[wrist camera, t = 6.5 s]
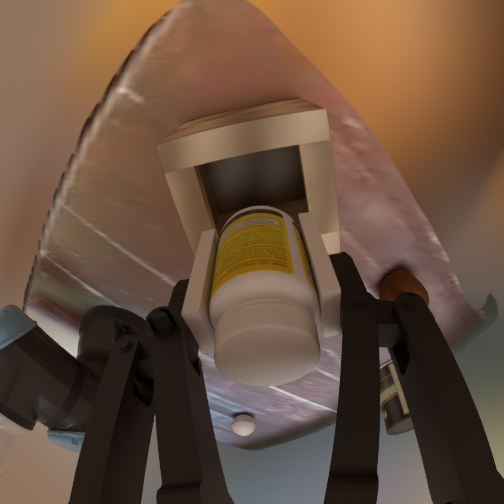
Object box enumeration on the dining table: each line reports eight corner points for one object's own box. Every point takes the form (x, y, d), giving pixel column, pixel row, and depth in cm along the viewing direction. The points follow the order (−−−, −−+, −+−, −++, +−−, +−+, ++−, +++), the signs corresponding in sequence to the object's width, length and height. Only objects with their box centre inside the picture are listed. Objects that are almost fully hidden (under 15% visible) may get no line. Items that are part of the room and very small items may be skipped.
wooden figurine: (387, 302, 43) (421, 379, 30) (366, 287, 41) (400, 370, 28) (418, 274, 40) (462, 348, 27) (399, 256, 38) (447, 335, 25)
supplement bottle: (204, 246, 17) (179, 364, 10) (253, 187, 15) (255, 294, 8) (266, 284, 19) (273, 401, 12) (317, 235, 17) (356, 350, 10)
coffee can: (378, 387, 59) (392, 438, 47) (366, 370, 54) (381, 429, 42) (417, 368, 55) (436, 418, 44) (410, 349, 51) (433, 406, 39)
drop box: (214, 219, 35) (202, 278, 25) (186, 122, 28) (155, 145, 19) (315, 200, 33) (340, 253, 24) (299, 98, 27) (326, 109, 18)
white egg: (259, 415, 64) (260, 435, 59) (242, 421, 66) (241, 440, 61) (239, 405, 61) (239, 427, 56) (221, 411, 63) (220, 431, 58)
